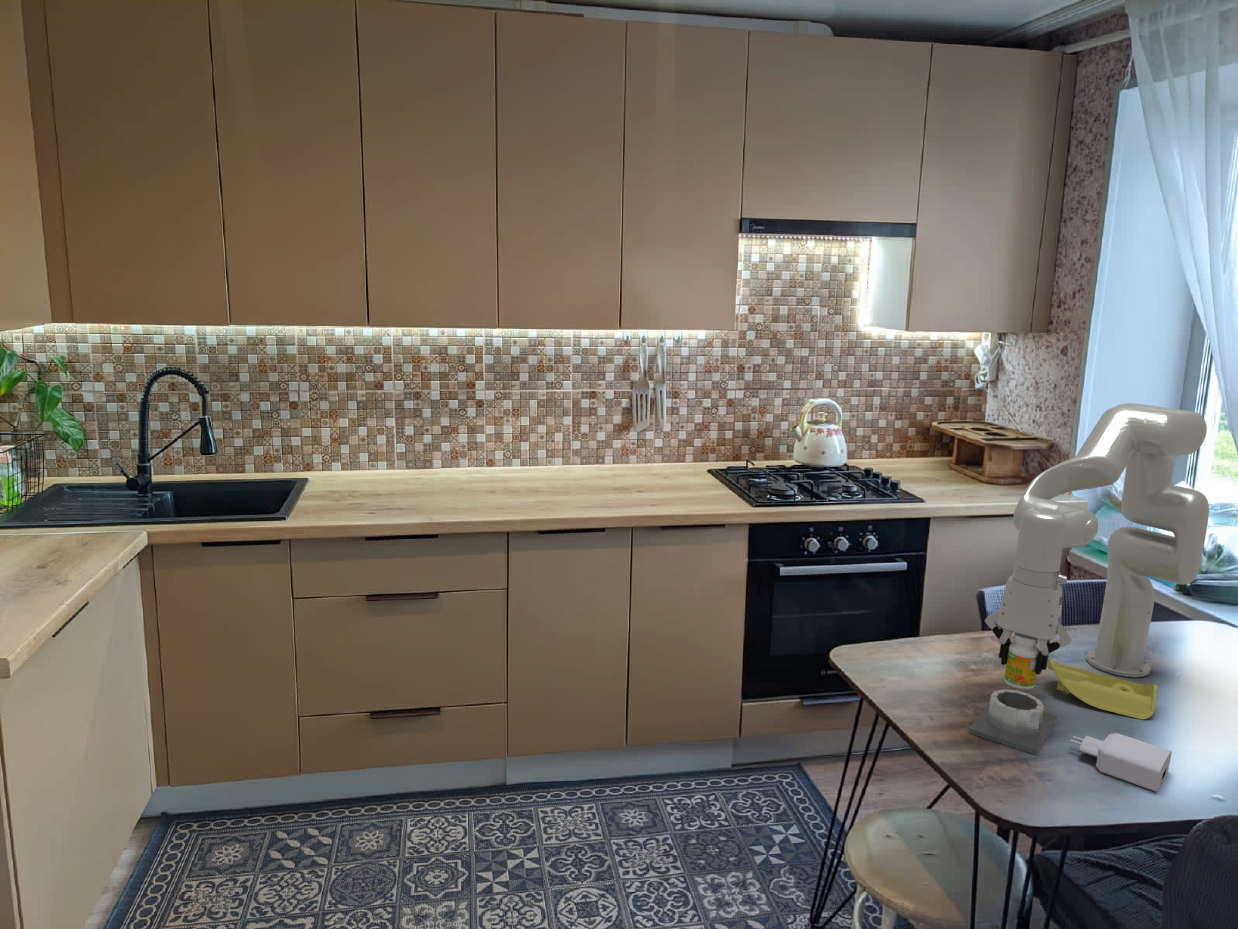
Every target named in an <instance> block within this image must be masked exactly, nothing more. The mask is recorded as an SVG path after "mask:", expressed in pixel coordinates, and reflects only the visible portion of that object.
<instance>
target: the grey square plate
mask: <svg viewBox="0 0 1238 929" xmlns="http://www.w3.org/2000/svg"><path fill="white" fill-rule="evenodd" d="M1044 708H1045V706H1044V704H1043V702H1042V701H1041V700H1040V699H1039V698H1037V697H1035V696H1034V695H1032V694H1030V693H1027V692H1023V691H1020V690H1014V689H1013V690H1012V689H1005V688H1003V689H999V690H994V691H993V692H992V693H991V695H990V697H989V702H988V703H987V705H986V706H985V707H984V708H983V710H982V711H981V712H980V714H979V715H978V716H977V718H975V720H974V721H973V723H972V724H970V725H971V726H969V728H968V734H970V733H971V734H970V735H974V736H975V737H979V736H980V738H983V739H986V740H988V739H989V741H992V742H995V743H998V744H1000V743H1001V745H1004V746H1007V747H1009V748H1014V749H1016V750H1019V751H1023V752H1024V753H1025V752H1026V753H1028V754H1030V755H1034V756H1038V754H1039V752H1040V750H1041V749H1042V747H1043V745H1044V744H1045V742H1046V740H1047V738H1048V737H1049V736H1050V734H1051V731H1052V730H1053V729H1054V727H1055V724H1056V723H1057V720H1058V716H1055V715H1053V714H1049V713H1046V712H1044Z"/></svg>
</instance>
